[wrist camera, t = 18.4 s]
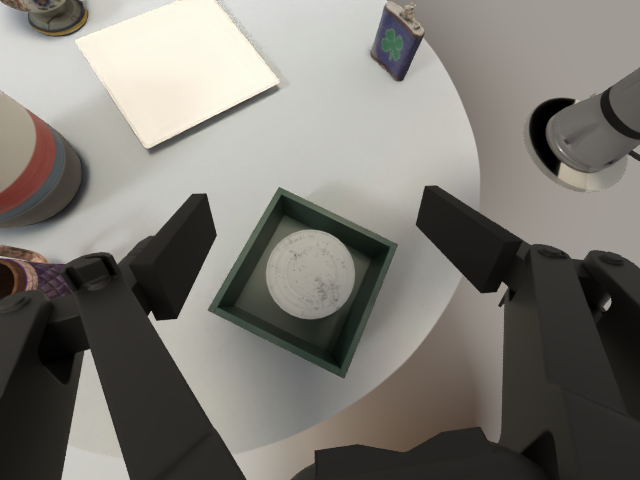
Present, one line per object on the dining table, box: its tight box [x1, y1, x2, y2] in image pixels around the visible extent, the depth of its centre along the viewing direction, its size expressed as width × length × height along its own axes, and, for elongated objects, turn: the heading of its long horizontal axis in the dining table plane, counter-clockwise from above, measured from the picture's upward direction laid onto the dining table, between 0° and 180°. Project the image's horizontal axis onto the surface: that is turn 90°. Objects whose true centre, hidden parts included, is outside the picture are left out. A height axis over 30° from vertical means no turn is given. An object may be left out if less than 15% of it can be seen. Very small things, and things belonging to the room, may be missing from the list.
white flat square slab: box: [75, 0, 280, 149], centre depth 45 cm, size 26×26×2 cm
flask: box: [371, 2, 424, 81], centre depth 46 cm, size 9×3×11 cm, turn 40°
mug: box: [0, 245, 73, 299], centre depth 30 cm, size 10×7×12 cm
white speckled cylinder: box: [266, 230, 355, 319], centre depth 32 cm, size 10×10×12 cm
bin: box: [208, 187, 398, 378], centre depth 35 cm, size 18×18×9 cm
